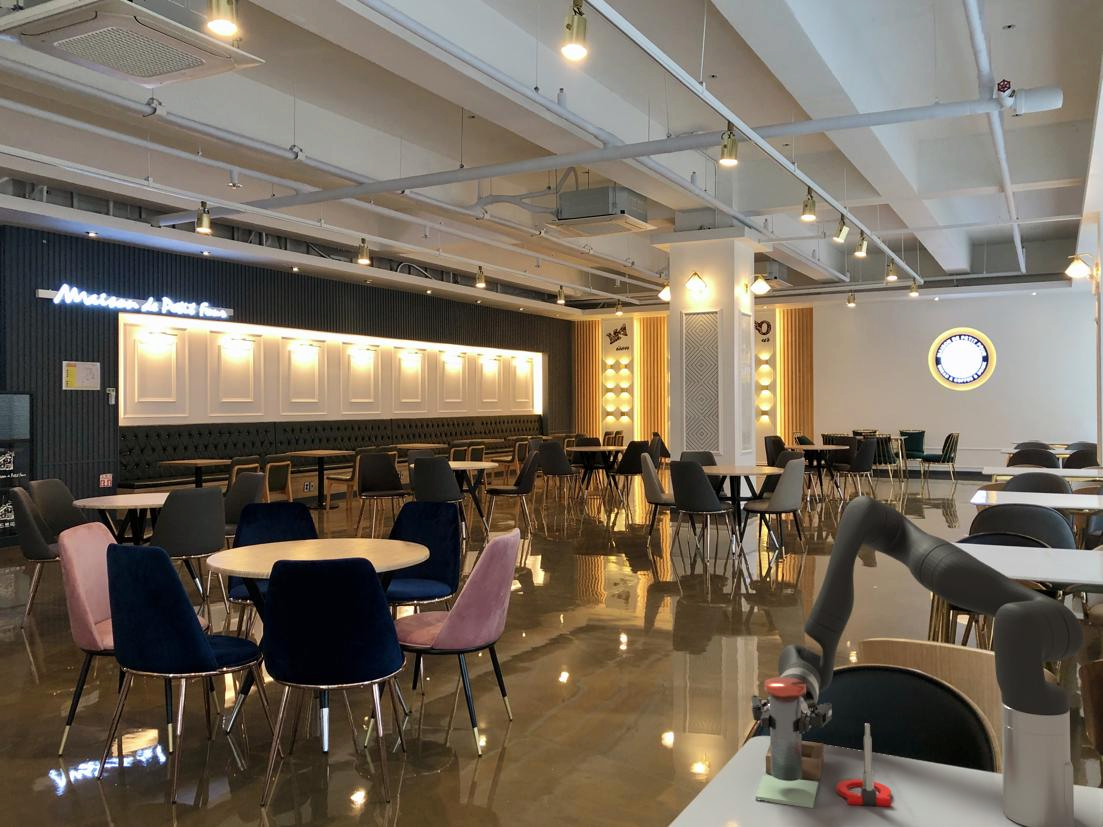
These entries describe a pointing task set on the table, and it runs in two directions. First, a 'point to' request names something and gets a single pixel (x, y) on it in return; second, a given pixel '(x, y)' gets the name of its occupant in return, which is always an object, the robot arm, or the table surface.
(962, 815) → the table surface
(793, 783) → the sage mat
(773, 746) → the steel peg
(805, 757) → the brown square frame
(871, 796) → the tow hook
